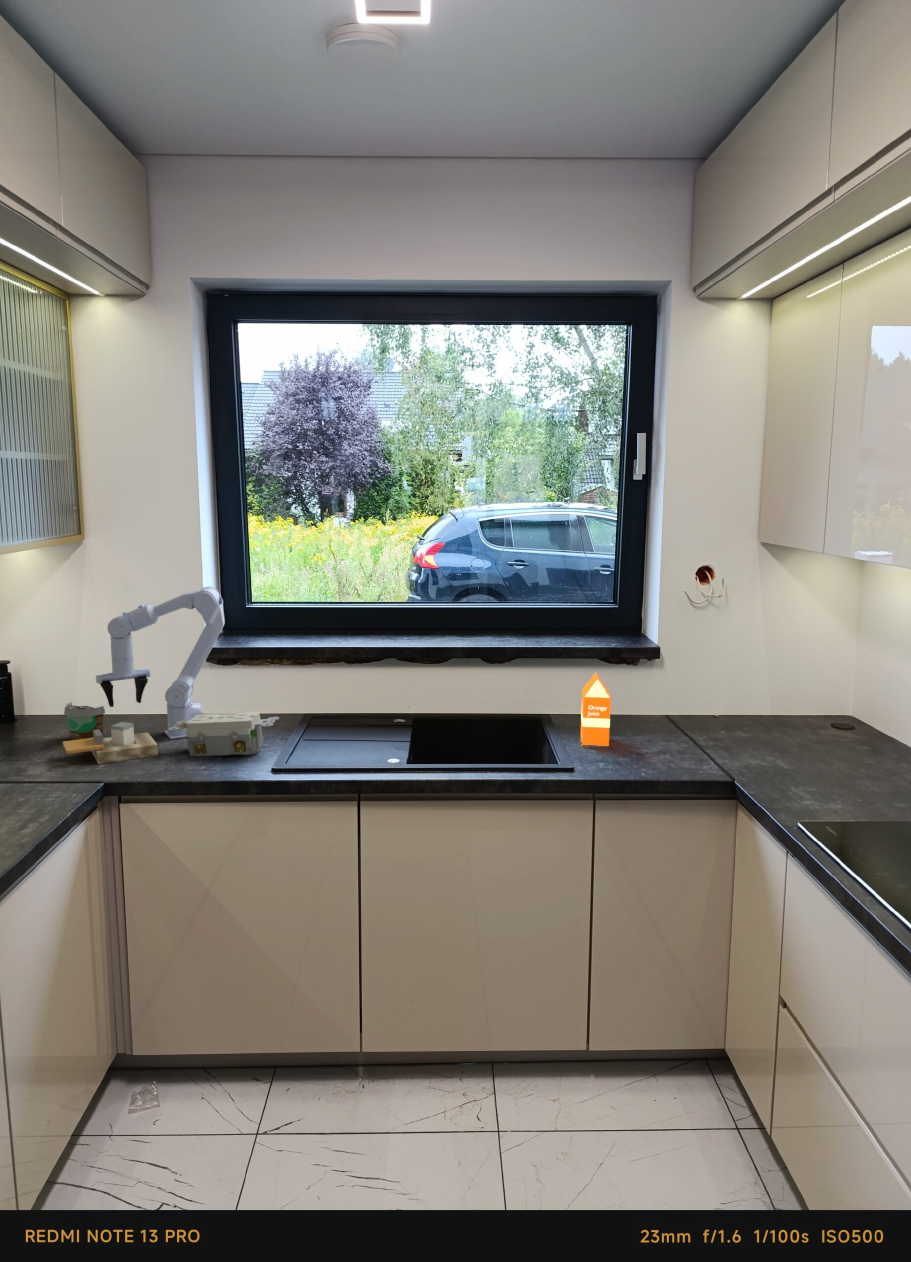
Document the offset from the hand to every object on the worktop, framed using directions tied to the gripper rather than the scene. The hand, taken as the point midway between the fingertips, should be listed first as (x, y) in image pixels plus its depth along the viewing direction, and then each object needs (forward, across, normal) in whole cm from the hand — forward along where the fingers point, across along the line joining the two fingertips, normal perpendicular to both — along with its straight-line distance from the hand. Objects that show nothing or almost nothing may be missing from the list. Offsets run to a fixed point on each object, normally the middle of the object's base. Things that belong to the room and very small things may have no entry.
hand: (125, 704), depth 242 cm
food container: (+10, -12, +2) cm, 15 cm away
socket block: (+9, -5, -16) cm, 19 cm away
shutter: (+6, -15, -14) cm, 22 cm away
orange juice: (+10, +106, -84) cm, 135 cm away
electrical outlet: (+10, +17, -30) cm, 36 cm away
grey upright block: (+9, -5, -15) cm, 19 cm away
